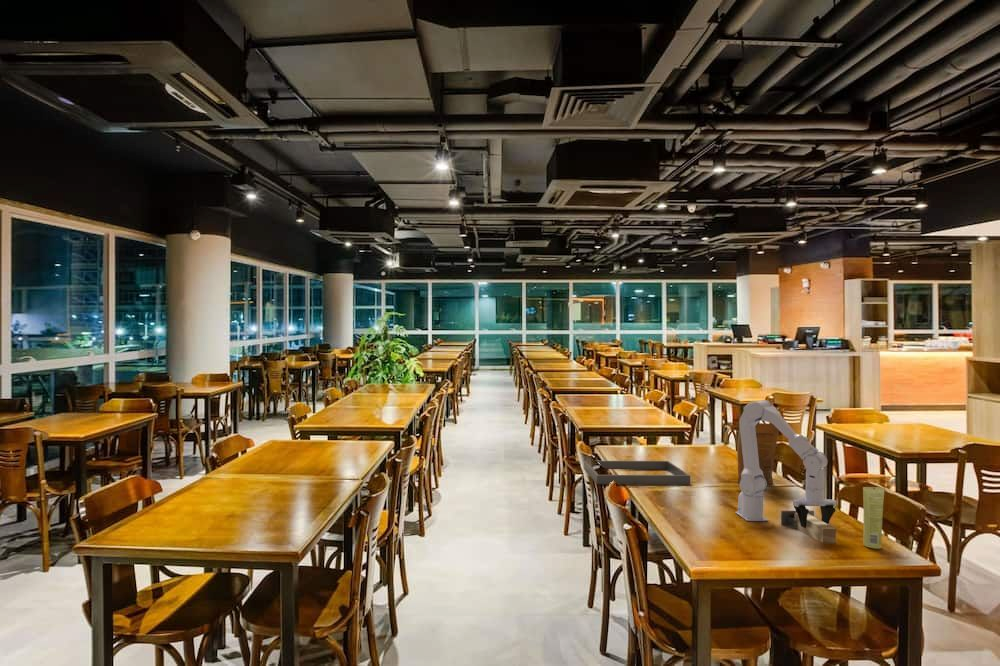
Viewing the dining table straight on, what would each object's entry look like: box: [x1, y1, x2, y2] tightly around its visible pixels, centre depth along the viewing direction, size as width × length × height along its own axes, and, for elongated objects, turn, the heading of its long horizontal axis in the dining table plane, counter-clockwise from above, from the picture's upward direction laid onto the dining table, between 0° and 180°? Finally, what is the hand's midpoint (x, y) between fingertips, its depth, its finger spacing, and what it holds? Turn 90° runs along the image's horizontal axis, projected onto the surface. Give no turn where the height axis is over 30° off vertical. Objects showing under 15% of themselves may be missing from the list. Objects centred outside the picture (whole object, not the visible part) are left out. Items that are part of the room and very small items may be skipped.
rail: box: [794, 513, 837, 545], centre depth 195 cm, size 16×4×5 cm, turn 4°
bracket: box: [780, 510, 815, 530], centre depth 202 cm, size 5×12×5 cm, turn 93°
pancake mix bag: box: [736, 423, 779, 486], centre depth 258 cm, size 7×19×28 cm, turn 88°
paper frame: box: [583, 460, 691, 485], centre depth 268 cm, size 28×43×4 cm, turn 93°
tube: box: [862, 486, 885, 550], centre depth 185 cm, size 6×5×20 cm
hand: (814, 526), depth 195 cm, fingers open, 7 cm apart
